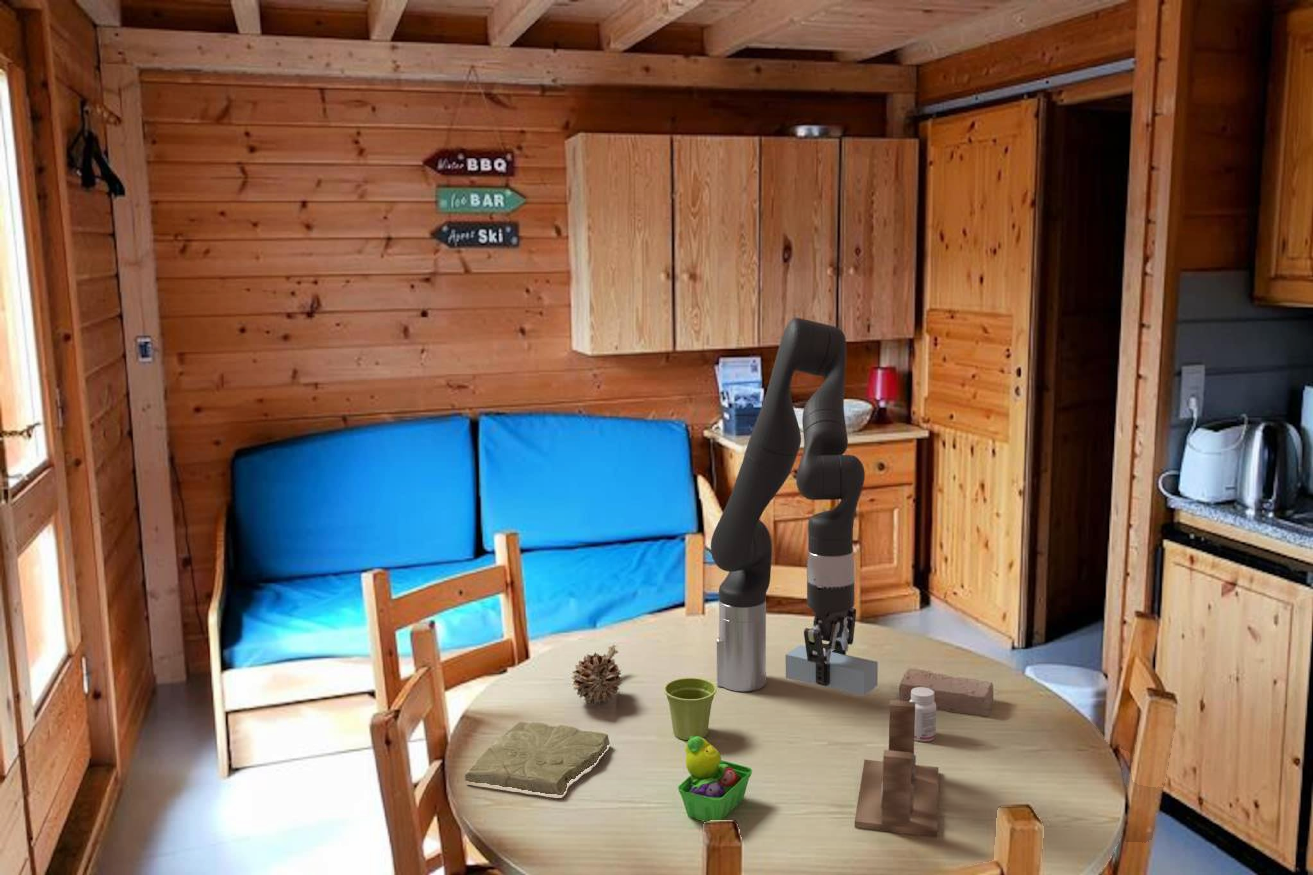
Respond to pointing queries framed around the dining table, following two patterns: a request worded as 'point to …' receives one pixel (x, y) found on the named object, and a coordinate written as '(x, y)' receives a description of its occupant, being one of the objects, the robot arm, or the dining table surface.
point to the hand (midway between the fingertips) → (830, 678)
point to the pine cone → (597, 677)
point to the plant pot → (690, 706)
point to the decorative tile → (538, 757)
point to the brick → (950, 691)
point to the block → (835, 671)
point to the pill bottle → (924, 713)
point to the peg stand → (899, 783)
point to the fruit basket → (711, 782)
